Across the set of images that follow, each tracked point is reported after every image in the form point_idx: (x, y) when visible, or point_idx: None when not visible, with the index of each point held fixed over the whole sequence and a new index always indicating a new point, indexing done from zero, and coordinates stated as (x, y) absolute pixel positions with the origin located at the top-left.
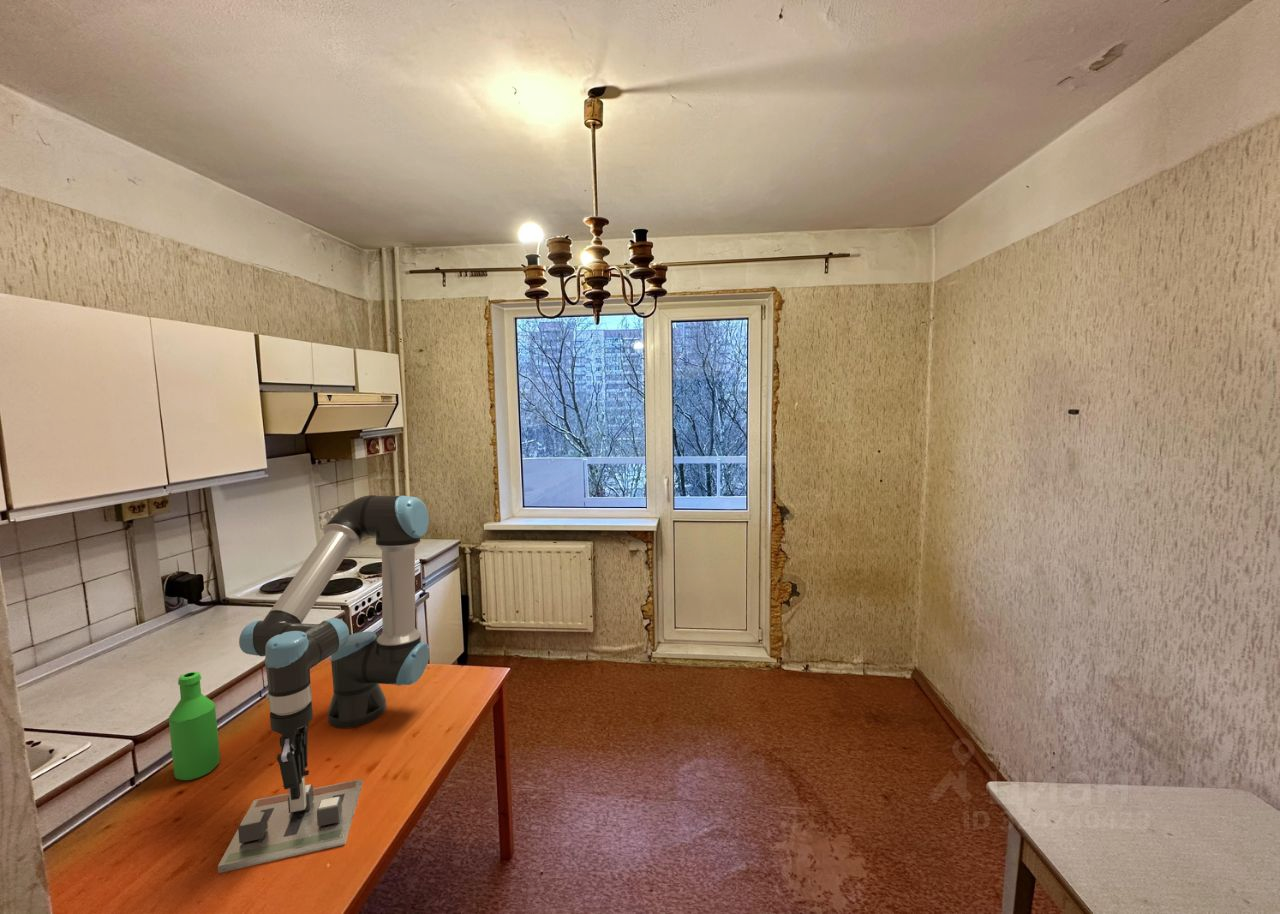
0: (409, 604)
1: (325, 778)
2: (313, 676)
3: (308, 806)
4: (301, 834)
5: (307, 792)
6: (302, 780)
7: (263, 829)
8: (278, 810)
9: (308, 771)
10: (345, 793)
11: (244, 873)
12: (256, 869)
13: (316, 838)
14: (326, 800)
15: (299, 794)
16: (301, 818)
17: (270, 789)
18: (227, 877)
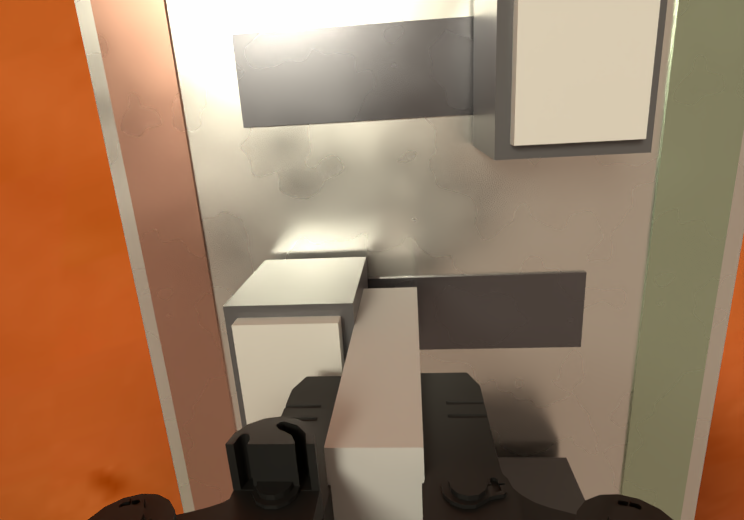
0: None
1: (13, 251)
2: None
3: (364, 271)
4: (607, 237)
5: (340, 321)
6: (398, 456)
7: (551, 487)
8: None
9: (255, 444)
10: (226, 31)
11: (721, 447)
12: (720, 401)
13: (707, 112)
14: (542, 86)
15: (446, 389)
16: (440, 285)
17: (92, 512)
18: (711, 509)
